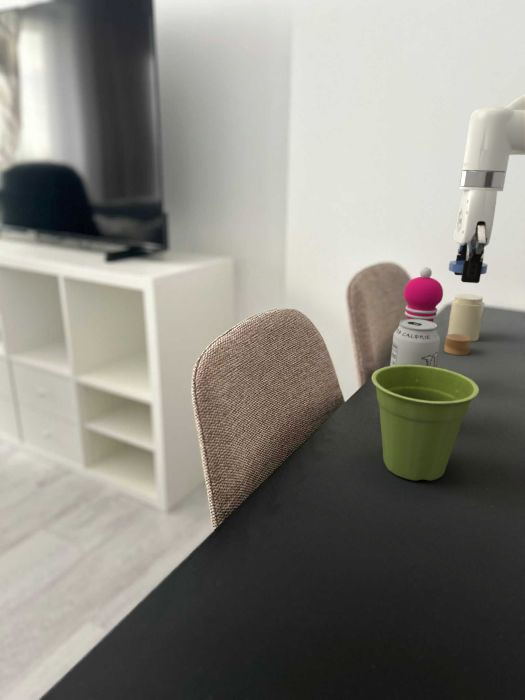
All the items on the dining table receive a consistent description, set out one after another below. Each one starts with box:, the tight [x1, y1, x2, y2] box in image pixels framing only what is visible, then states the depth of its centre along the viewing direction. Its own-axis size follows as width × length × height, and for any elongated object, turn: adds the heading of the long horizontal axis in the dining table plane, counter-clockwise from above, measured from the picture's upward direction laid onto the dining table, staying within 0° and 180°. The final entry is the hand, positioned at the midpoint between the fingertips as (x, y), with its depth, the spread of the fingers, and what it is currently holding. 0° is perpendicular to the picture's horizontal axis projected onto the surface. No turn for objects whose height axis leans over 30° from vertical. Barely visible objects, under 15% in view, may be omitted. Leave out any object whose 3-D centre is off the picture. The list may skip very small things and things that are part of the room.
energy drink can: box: [389, 318, 441, 368], centre depth 71 cm, size 6×6×15 cm
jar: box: [446, 293, 485, 342], centre depth 112 cm, size 7×7×9 cm
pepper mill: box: [403, 266, 444, 368], centre depth 84 cm, size 7×7×20 cm
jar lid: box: [448, 260, 488, 275], centre depth 99 cm, size 7×7×2 cm
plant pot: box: [371, 365, 480, 482], centre depth 61 cm, size 12×12×11 cm
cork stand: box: [443, 334, 472, 356], centre depth 104 cm, size 5×5×3 cm
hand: (466, 277), depth 99 cm, fingers closed on jar lid, 6 cm apart
